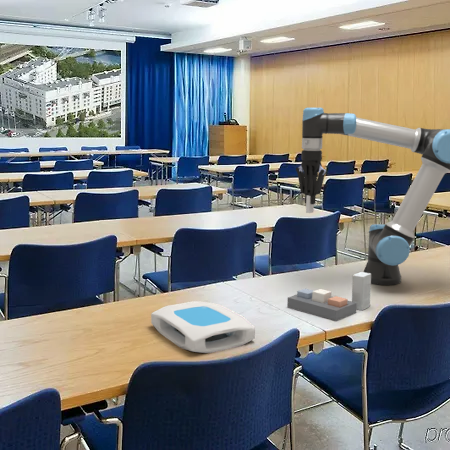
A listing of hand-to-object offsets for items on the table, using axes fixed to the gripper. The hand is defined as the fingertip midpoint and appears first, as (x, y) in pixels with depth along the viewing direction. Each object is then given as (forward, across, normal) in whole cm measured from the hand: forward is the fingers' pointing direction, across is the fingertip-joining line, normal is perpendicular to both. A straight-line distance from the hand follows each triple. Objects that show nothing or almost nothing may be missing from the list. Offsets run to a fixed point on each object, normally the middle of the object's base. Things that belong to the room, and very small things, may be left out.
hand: (309, 212), depth 227 cm
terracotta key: (+28, +26, -19) cm, 43 cm away
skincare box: (+30, +28, -7) cm, 41 cm away
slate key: (+28, +14, -19) cm, 37 cm away
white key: (+27, +20, -19) cm, 39 cm away
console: (+29, +20, -19) cm, 40 cm away
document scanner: (+30, +8, -64) cm, 71 cm away
